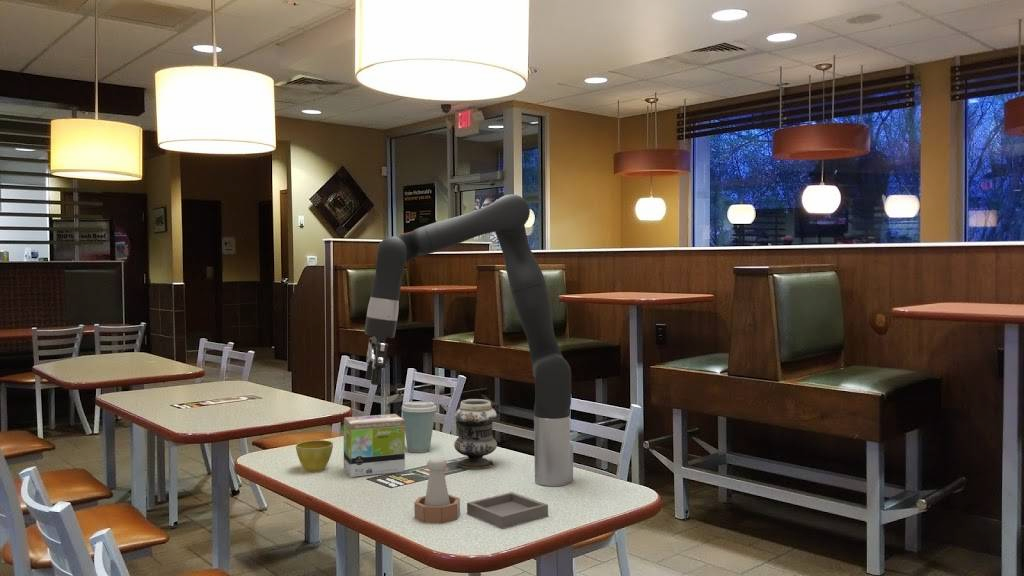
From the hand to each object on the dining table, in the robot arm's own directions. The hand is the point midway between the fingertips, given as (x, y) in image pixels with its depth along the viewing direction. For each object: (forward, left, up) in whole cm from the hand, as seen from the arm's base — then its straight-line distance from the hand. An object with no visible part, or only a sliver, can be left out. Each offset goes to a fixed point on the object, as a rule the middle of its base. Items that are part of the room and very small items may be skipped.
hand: (372, 382), depth 193 cm
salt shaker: (-2, +25, -28) cm, 37 cm away
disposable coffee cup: (-32, -31, -28) cm, 53 cm away
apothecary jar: (-35, -6, -28) cm, 46 cm away
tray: (-15, +34, -28) cm, 47 cm away
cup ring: (-2, +25, -28) cm, 37 cm away
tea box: (-10, -19, -28) cm, 35 cm away
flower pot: (+2, -31, -28) cm, 42 cm away
